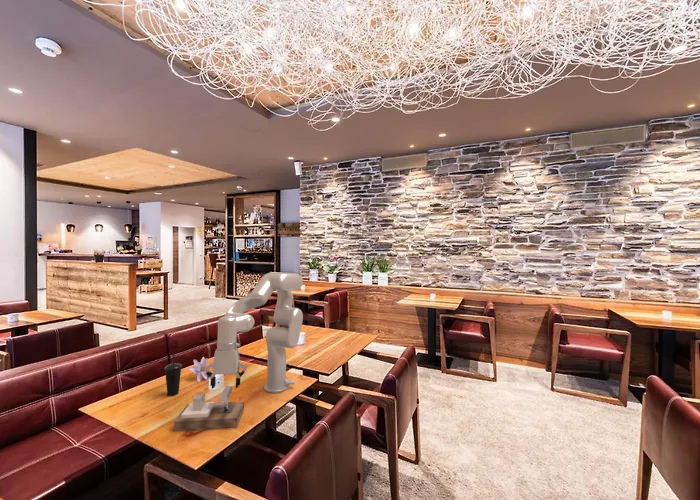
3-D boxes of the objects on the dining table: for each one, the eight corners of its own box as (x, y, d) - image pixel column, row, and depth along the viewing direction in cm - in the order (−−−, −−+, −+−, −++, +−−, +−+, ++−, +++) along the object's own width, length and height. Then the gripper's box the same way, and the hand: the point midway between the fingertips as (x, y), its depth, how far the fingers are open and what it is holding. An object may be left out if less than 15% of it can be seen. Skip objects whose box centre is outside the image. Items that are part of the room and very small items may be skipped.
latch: (231, 403, 137) (231, 385, 137) (226, 413, 129) (227, 394, 129) (211, 404, 136) (212, 386, 136) (205, 414, 128) (206, 395, 128)
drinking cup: (185, 391, 158) (185, 352, 158) (172, 398, 150) (172, 356, 150) (173, 389, 160) (174, 350, 160) (160, 395, 153) (160, 354, 153)
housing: (244, 410, 140) (244, 400, 140) (237, 427, 126) (237, 417, 126) (187, 413, 137) (187, 403, 137) (173, 431, 123) (173, 420, 123)
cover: (214, 404, 137) (215, 390, 137) (207, 417, 127) (207, 401, 127) (190, 406, 136) (190, 391, 136) (181, 418, 126) (181, 402, 126)
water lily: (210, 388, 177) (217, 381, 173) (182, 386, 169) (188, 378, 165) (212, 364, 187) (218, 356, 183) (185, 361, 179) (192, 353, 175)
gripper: (249, 343, 137) (248, 382, 137) (208, 344, 135) (206, 384, 135) (246, 348, 130) (244, 390, 130) (202, 349, 128) (200, 391, 127)
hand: (225, 387), depth 132 cm, fingers open, 9 cm apart
